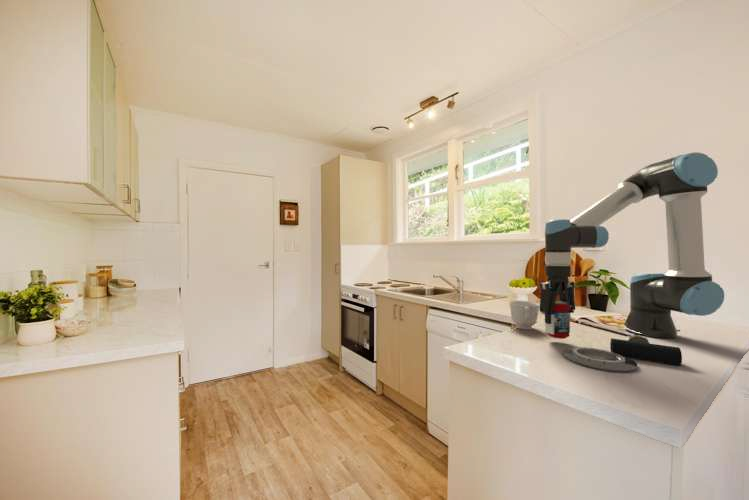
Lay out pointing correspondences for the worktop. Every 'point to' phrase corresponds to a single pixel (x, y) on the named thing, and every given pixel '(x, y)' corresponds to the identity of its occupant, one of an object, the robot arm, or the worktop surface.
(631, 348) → the pipe connector
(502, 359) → the worktop surface
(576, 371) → the worktop surface
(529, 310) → the teacup
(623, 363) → the ring plate
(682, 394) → the worktop surface
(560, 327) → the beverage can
